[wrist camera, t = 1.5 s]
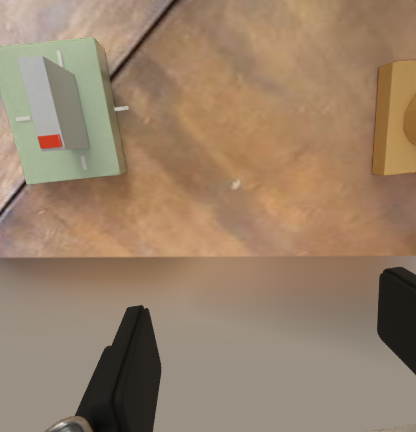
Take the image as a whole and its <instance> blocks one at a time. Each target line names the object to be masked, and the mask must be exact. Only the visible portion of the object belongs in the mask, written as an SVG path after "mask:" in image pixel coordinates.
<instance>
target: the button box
mask: <svg viewBox="0 0 416 432" xmlns="http://www.w3.org/2000/svg"><path fill="white" fill-rule="evenodd" d="M414 172H416V59H415V60H405V61H395V62H391V63H389V64H387V65H384V66H382V67H380V68H379V76H378V91H377V106H376V121H375V136H374V151H373V166H372V174H376V175H383V176H387V175H396V174H405V173H414Z"/></svg>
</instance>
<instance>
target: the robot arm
mask: <svg viewBox="0 0 416 432" xmlns="http://www.w3.org/2000/svg"><path fill="white" fill-rule="evenodd" d="M377 323H378V324H377V332H378V335H379V337H380V338H381V340H382V341H383V342H384V343H385V344H386V345H387V346H388V347H389V348H390V349H391V350H392V351H393V352H394V353H395V354H396V355H397V356H398V357H399V358H400V359H401V360H402V361H403V362H404V363H405V364H406V365H407V366H408V367H409V368H410V369H411V370H412V372H413V373H415V375H416V275H415V274H413V273H412V272H410V271H408V270H406V269H405V268H403V267H396V268H388V269H385V270H384V271H383V273H382V274H381V275H380V279H379V301H378V322H377ZM160 378H161V362H160V357H159V353H158V348H157V345H156V340H155V335H154V331H153V326H152V322H151V317H150V313H149V309H148V308H145V309H144V307H143V306H142V305H140V306H133V307H128V308H127V309H126V312H125V314H124V317H123V319H122V322H121V324H120V326H119V329H118V331H117V334H116V336H115V339H114V341H113V343H112V346H107V347H106V348H105V349H104V351H103V353H102V355H101V358H100V360H99V362H98V364H97V367H96V369H95V371H94V373H93V376H92V378H91V380H90V382H89V385H88V387H87V389H86V391H85V394H84V396H83V398H82V401H81V403H80V405H79V407H78V410H77V412H76V414H75V416H72V417H68V418H65V419H62V420H60V421H58V422H57V423H55V424H53V425H52V426H51V427H50V428H48V429H47V430H46V431H45V432H153V426H154V419H155V412H156V405H157V398H158V391H159V384H160ZM369 432H416V424H414V425H407V426H401V427H395V428H388V429H382V430H375V431H369Z"/></svg>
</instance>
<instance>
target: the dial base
mask: <svg viewBox="0 0 416 432" xmlns="http://www.w3.org/2000/svg"><path fill="white" fill-rule="evenodd" d="M32 56H44V57H46V58H47V59H49V60H51V61H52V62H54V63H56V64H57V65H59V66H61V67H62V68H64V69H66V70H67V71H69V72H71V73H72V74H74V76H75V80H76V85H77V89H78V94H79V99H80V103H81V108H82V112H83V117H84V122H85V126H86V131H87V135H88V140H89V145H90V149H81V150H71V151H43V152H42V151H41V148H40V145H39V141H38V137H37V133H36V130H35V126H34V122H33V118H32V115H31V111H30V107H29V103H28V100H27V96H26V92H25V88H24V85H23V81H22V77H21V74H20V70H19V66H18V62H17V59H16V58H21V57H32ZM0 94H1V97H2V101H3V104H4V108H5V111H6V115H7V118H8V121H9V125H10V128H11V132H12V135H13V139H14V142H15V145H16V149H17V152H18V156H19V159H20V162H21V166H22V169H23V173H24V176H25V180H26V183H27V185H28V184H38V183H47V182H56V181H65V180H75V179H84V178H93V177H102V176H111V175H120V174H123V173H125V172H127V169H126V164H125V158H124V153H123V148H122V142H121V137H120V131H119V126H118V121H117V115H116V111H124V110H129V108H128V106H124V107H115V104H114V99H113V93H112V88H111V83H110V77H109V72H108V66H107V61H106V56H105V50H104V48H103V47H102V46H101V45H100V44H99V43H98V41H97V40H96V39H95V38H94V37H90V38H80V39H70V40H59V41H49V42H38V43H28V44H18V45H7V46H0Z"/></svg>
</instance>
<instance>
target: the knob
mask: <svg viewBox="0 0 416 432" xmlns="http://www.w3.org/2000/svg"><path fill="white" fill-rule="evenodd" d="M16 59H17V62H18V66H19V70H20V74H21V77H22V81H23V85H24V88H25V92H26V96H27V100H28V103H29V107H30V111H31V115H32V118H33V122H34V126H35V130H36V133H37V137H38V141H39V145H40V148H41V151H42V152H43V151H71V150H81V149H90V145H89V140H88V135H87V131H86V126H85V122H84V117H83V112H82V108H81V103H80V99H79V94H78V89H77V85H76V80H75V76H74V74H72V73H71V72H69V71H67V70H66V69H64V68H62V67H61V66H59V65H57V64H56V63H54V62H52V61H51V60H49V59H47V58H46V57H44V56H32V57H21V58H16Z"/></svg>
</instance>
